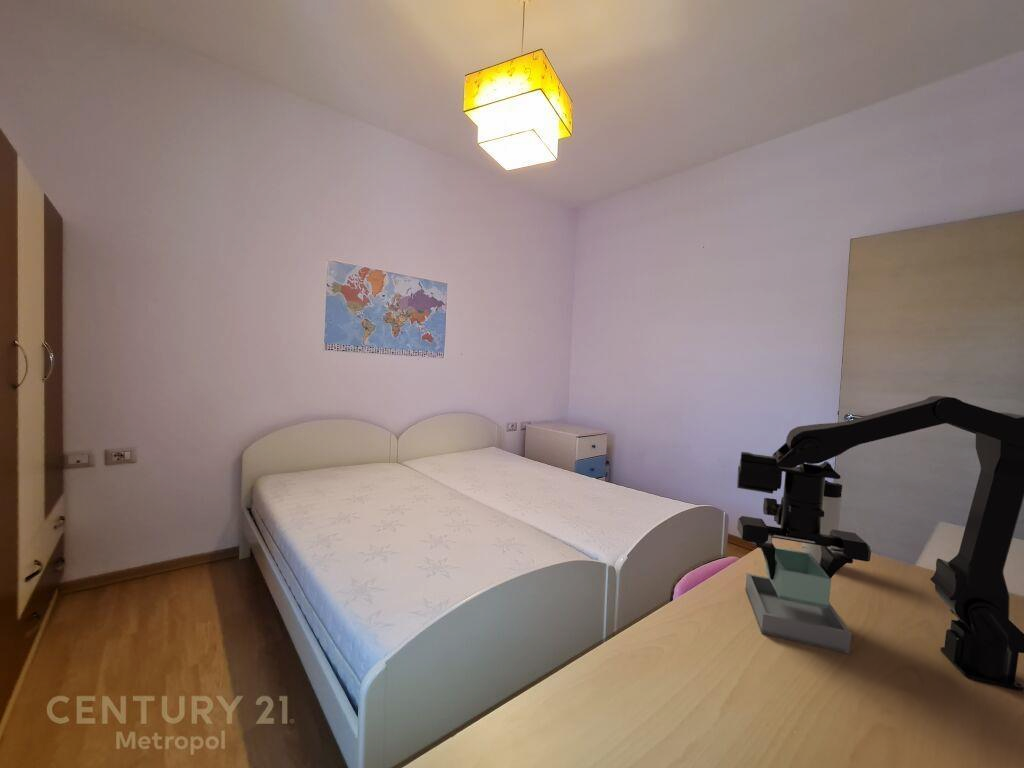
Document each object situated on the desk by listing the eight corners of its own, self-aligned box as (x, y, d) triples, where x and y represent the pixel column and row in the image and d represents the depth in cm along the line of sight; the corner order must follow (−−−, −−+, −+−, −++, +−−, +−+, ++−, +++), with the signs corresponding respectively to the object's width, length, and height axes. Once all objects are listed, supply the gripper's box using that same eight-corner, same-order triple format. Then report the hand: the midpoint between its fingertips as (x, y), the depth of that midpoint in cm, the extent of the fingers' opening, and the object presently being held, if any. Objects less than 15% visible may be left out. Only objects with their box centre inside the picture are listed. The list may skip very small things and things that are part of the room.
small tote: (765, 570, 79) (767, 545, 79) (808, 578, 77) (810, 553, 77) (779, 598, 70) (781, 570, 70) (828, 608, 68) (831, 579, 67)
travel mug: (794, 559, 97) (801, 476, 95) (810, 554, 99) (818, 474, 98) (823, 572, 91) (832, 484, 89) (840, 567, 94) (849, 481, 92)
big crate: (817, 604, 78) (818, 587, 78) (849, 654, 65) (851, 633, 65) (745, 589, 83) (746, 573, 82) (761, 633, 69) (763, 614, 69)
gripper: (847, 492, 77) (839, 572, 78) (735, 478, 83) (729, 553, 84) (876, 513, 66) (867, 605, 67) (746, 495, 73) (739, 580, 74)
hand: (795, 583), depth 73 cm, fingers closed on small tote, 7 cm apart
